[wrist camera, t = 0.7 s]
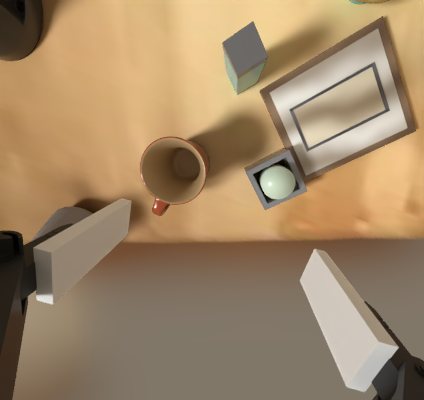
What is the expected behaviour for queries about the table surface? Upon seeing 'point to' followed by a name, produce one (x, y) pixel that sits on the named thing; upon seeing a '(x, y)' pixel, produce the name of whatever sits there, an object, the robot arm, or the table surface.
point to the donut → (367, 1)
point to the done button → (277, 181)
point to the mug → (173, 171)
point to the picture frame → (341, 103)
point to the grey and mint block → (244, 57)
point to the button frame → (268, 161)
